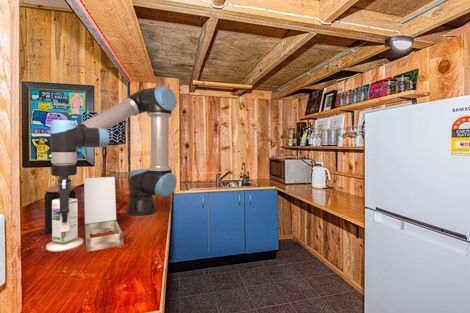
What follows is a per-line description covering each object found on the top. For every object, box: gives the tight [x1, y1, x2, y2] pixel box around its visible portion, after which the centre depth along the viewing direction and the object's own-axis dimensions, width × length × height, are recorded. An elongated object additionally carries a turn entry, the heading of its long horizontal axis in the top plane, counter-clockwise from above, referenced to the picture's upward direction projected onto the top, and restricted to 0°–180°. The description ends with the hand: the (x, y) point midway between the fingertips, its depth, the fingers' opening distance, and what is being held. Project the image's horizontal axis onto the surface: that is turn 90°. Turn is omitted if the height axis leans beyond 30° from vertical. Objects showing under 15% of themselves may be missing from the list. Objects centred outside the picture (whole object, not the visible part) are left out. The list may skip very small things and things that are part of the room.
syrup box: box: [51, 198, 79, 243], centre depth 90 cm, size 6×6×14 cm
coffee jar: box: [43, 185, 77, 235], centre depth 105 cm, size 11×11×18 cm
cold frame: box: [84, 220, 124, 252], centre depth 96 cm, size 11×18×4 cm, turn 32°
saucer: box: [45, 236, 84, 252], centre depth 90 cm, size 11×11×1 cm
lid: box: [83, 176, 117, 225], centre depth 105 cm, size 11×18×1 cm
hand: (65, 227), depth 90 cm, fingers closed on syrup box, 8 cm apart
